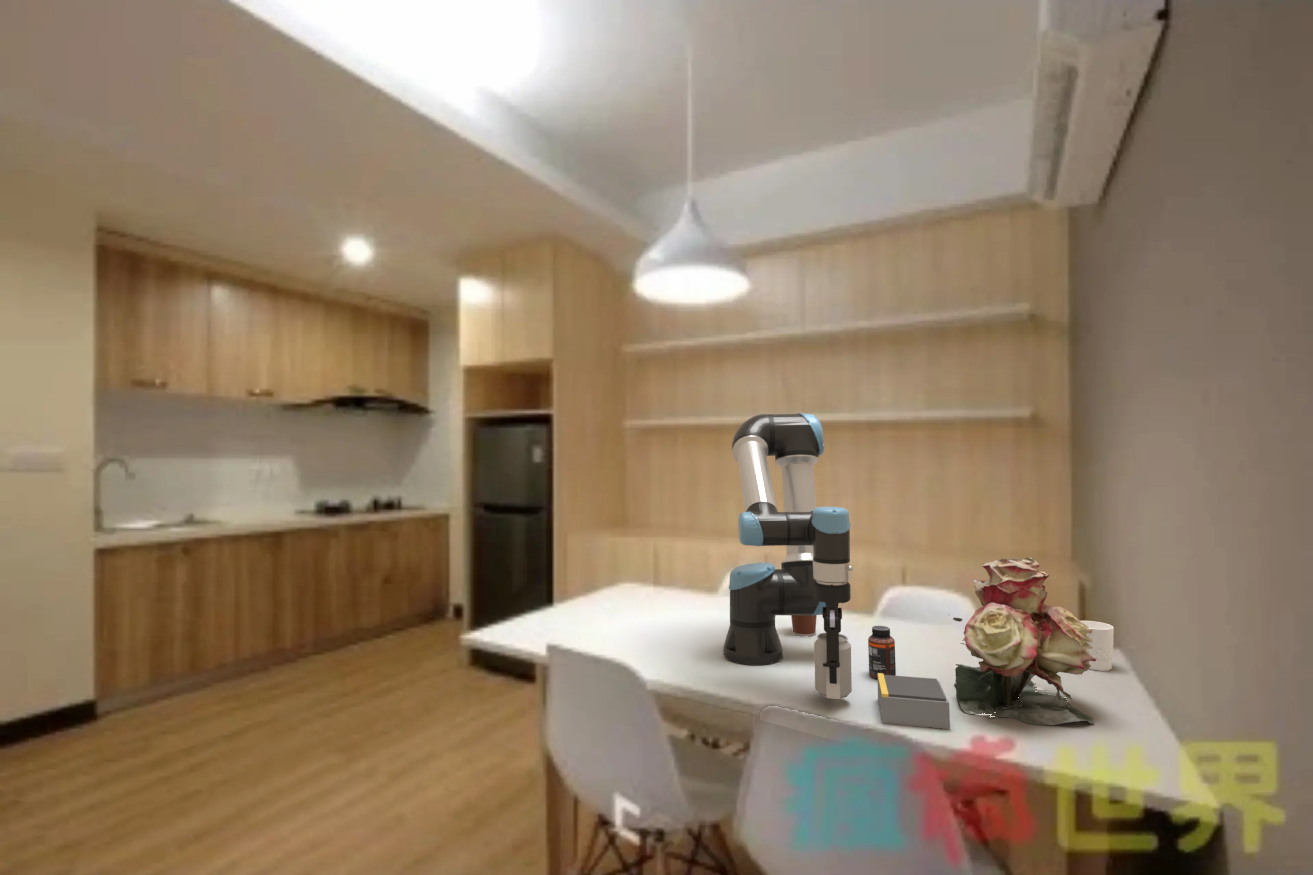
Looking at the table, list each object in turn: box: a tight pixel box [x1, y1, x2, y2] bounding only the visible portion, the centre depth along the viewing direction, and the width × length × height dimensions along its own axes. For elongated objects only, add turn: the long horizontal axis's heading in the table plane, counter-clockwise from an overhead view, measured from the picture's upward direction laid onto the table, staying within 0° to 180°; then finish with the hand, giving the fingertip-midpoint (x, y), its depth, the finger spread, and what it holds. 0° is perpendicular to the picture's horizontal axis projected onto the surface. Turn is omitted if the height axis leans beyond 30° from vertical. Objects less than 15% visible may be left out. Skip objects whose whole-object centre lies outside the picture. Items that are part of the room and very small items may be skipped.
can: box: [813, 632, 853, 700], centre depth 134 cm, size 8×8×12 cm
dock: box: [877, 673, 951, 730], centre depth 127 cm, size 12×12×6 cm
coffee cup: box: [790, 615, 818, 637], centre depth 185 cm, size 9×9×12 cm
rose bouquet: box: [947, 557, 1097, 726], centre depth 133 cm, size 26×29×30 cm
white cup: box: [1079, 620, 1115, 672], centre depth 154 cm, size 8×8×10 cm
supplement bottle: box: [867, 625, 897, 680], centre depth 149 cm, size 6×6×11 cm
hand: (833, 689), depth 134 cm, fingers closed on can, 7 cm apart
